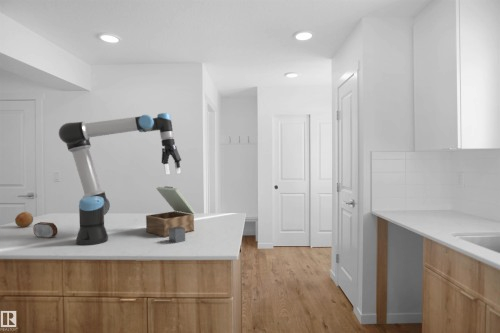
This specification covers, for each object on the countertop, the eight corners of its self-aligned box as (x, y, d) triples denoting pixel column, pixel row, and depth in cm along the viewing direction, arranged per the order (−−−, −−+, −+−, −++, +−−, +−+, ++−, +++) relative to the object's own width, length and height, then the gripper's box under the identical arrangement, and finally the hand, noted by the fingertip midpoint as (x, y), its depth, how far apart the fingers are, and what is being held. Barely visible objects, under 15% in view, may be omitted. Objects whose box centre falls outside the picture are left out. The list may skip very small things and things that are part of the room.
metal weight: (175, 243, 160) (175, 229, 160) (169, 241, 164) (168, 228, 164) (185, 241, 164) (185, 227, 164) (178, 239, 168) (178, 226, 168)
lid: (175, 190, 177) (178, 187, 178) (156, 188, 191) (159, 185, 192) (193, 214, 187) (196, 210, 188) (174, 210, 200) (177, 207, 202)
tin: (58, 237, 175) (57, 222, 175) (53, 238, 172) (52, 223, 172) (37, 236, 179) (37, 221, 179) (32, 237, 176) (32, 222, 176)
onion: (17, 226, 207) (16, 211, 207) (34, 225, 212) (34, 210, 211) (13, 229, 199) (12, 213, 198) (31, 227, 203) (31, 212, 203)
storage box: (164, 237, 172) (164, 219, 172) (146, 232, 186) (146, 215, 186) (193, 231, 187) (193, 214, 187) (175, 226, 201) (174, 211, 200)
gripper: (183, 136, 181) (189, 172, 182) (163, 141, 199) (168, 173, 200) (172, 137, 176) (177, 174, 177) (152, 142, 194) (158, 175, 195)
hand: (173, 173), depth 189 cm, fingers open, 13 cm apart
